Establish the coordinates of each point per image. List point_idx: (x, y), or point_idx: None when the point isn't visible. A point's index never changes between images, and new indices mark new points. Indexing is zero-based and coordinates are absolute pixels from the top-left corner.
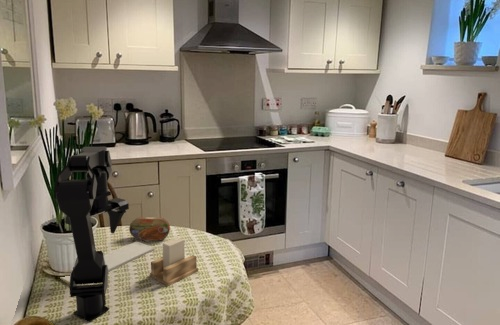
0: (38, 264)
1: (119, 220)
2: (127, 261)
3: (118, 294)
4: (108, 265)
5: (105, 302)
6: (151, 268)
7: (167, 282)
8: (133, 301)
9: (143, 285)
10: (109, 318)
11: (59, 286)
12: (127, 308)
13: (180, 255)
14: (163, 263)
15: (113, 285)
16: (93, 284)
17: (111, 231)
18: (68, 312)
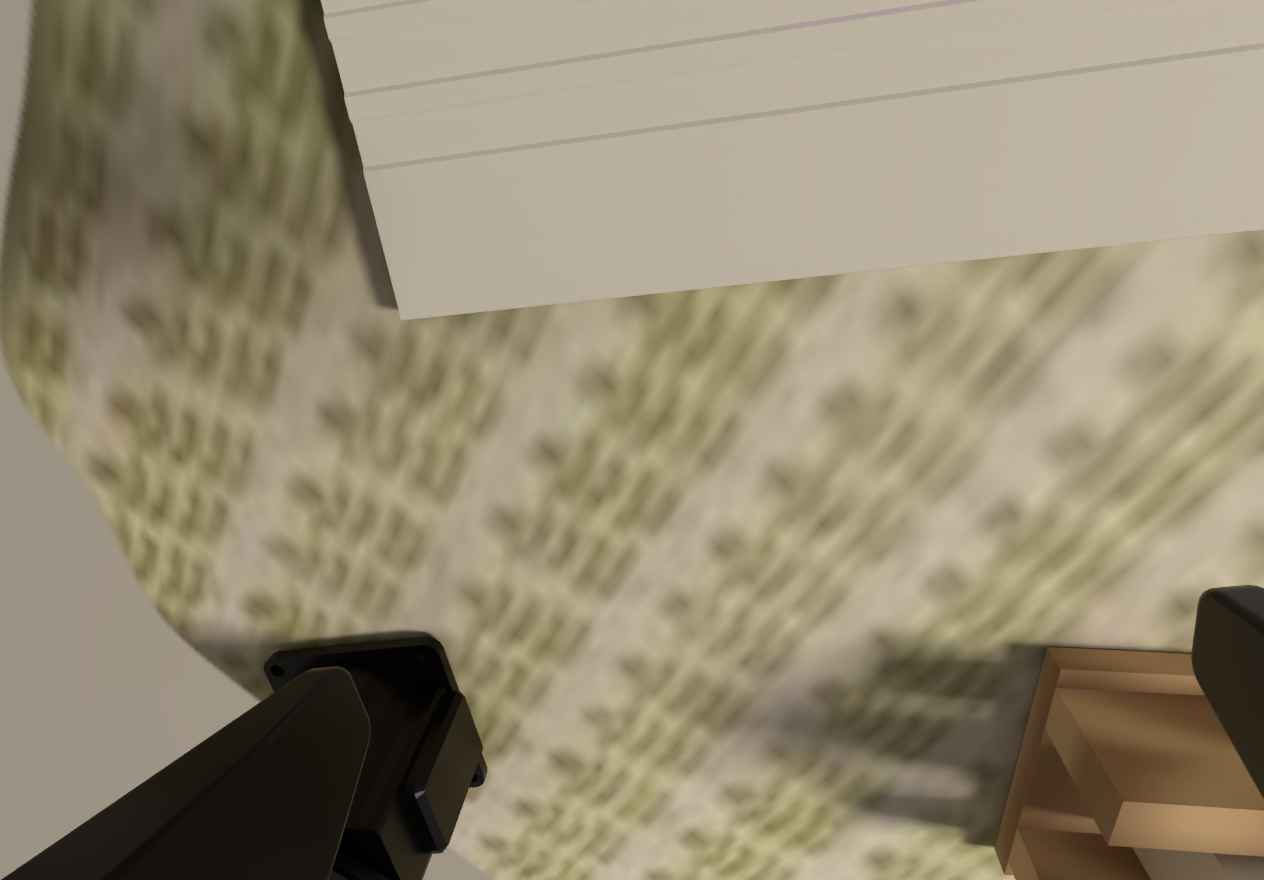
0: None
1: None
2: (1173, 235)
3: (646, 674)
4: (918, 172)
5: (474, 766)
6: (1082, 740)
7: (1008, 866)
8: (670, 806)
9: (877, 715)
10: None
11: (283, 151)
12: (591, 831)
13: None
14: None
15: (701, 539)
16: (334, 872)
17: (1230, 644)
18: (250, 604)
